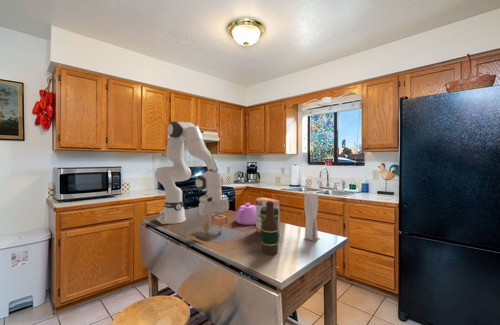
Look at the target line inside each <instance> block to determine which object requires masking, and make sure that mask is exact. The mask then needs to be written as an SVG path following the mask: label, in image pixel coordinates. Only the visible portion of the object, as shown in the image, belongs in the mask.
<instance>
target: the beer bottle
mask: <svg viewBox="0 0 500 325" xmlns="http://www.w3.org/2000/svg"><path fill="white" fill-rule="evenodd" d="M273 204H274V203H273V202H271V201H269V202H266V205H267V208H266V219H265V220H264V222H263V225H262V241H261V249H262V250H261V252H262V253H263V254H265V255H268V256H269V255H270V256H273V255H277V254H278V251H279V241H278V224H277V222H276V220H275V219H274V209H273Z"/></svg>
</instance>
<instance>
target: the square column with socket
mask: <svg viewBox="0 0 500 325" xmlns="http://www.w3.org/2000/svg"><path fill="white" fill-rule="evenodd" d="M212 218H213V221H210V218H209V216H208V215H204V221H205V222H210V223H211V224H213V225H216V226H218V225H219V226H220V225H222V226H223V225H227V224H228V216H226V215H223V214H220V215H217V214H216V213H213V214H212Z"/></svg>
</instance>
